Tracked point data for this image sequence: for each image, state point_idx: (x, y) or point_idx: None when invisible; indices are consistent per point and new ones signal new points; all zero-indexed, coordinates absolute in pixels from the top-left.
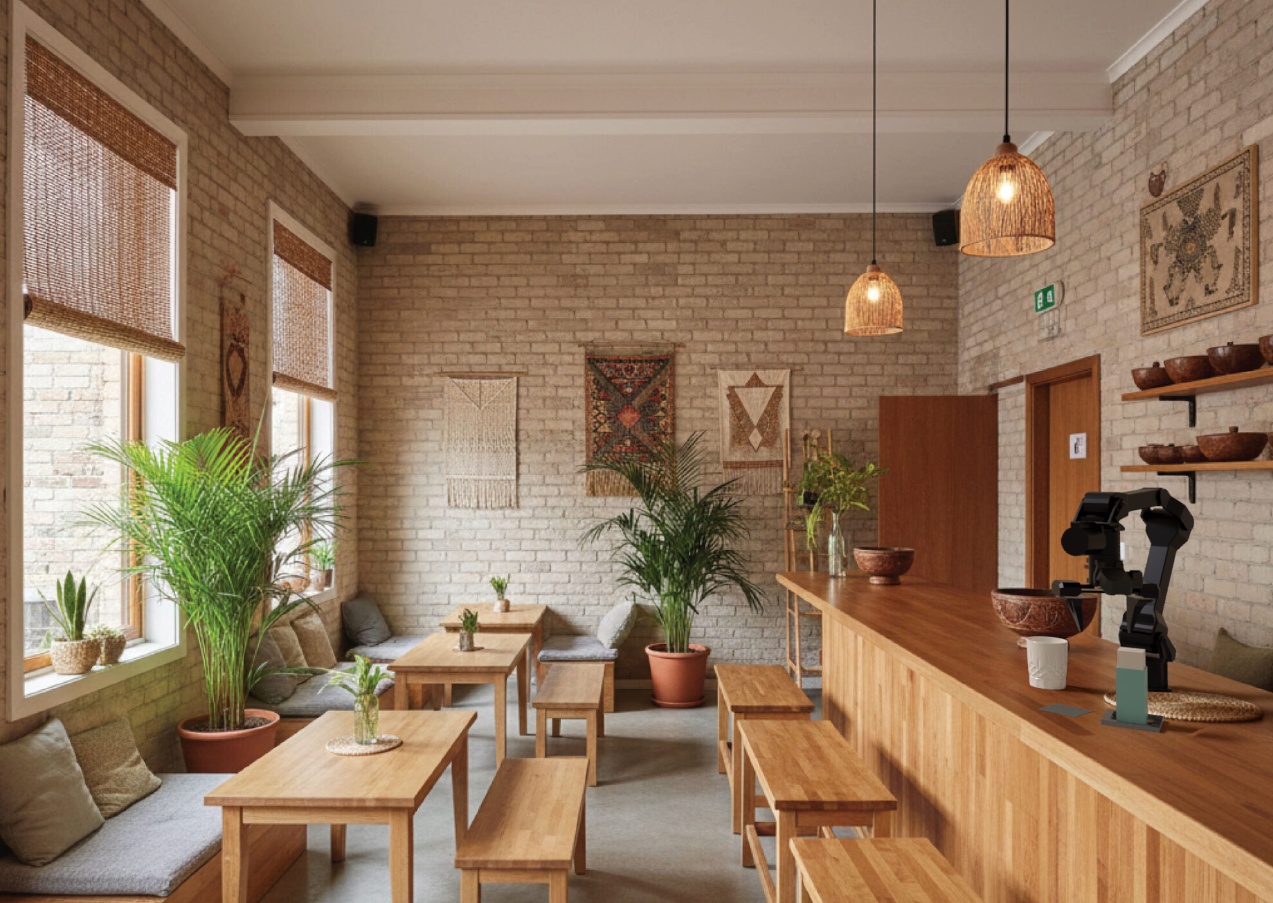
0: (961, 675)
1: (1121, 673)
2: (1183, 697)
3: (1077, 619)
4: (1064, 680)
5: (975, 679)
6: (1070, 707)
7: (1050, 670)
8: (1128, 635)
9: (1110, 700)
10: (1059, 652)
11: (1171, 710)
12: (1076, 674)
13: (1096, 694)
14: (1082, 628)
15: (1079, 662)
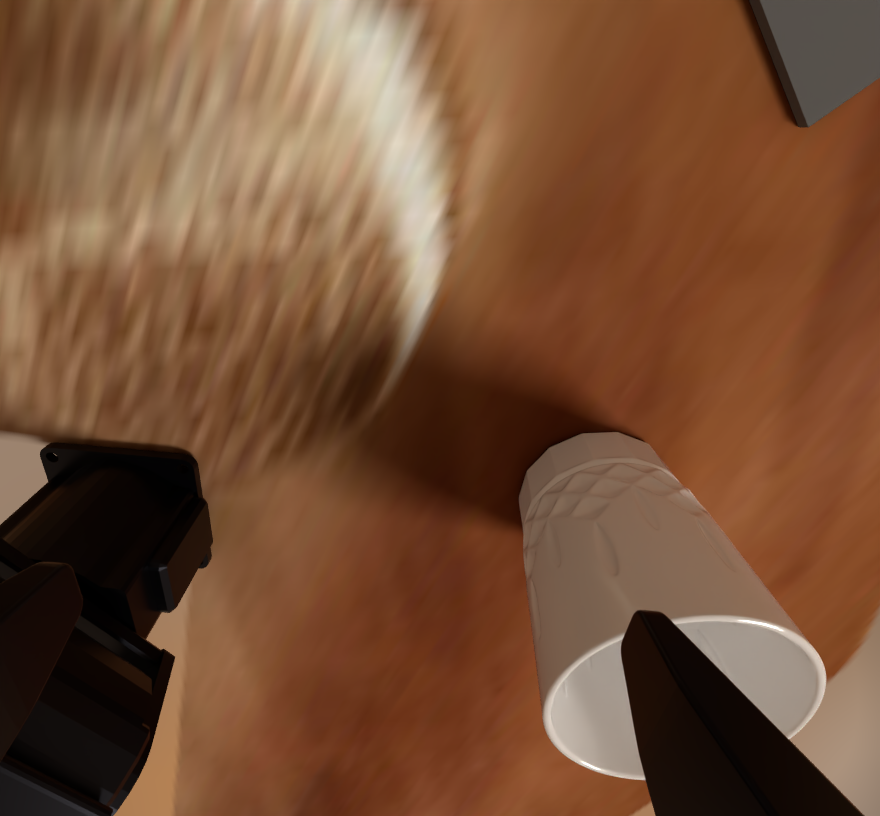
0: (816, 649)
1: None
2: (15, 349)
3: (816, 772)
4: (553, 476)
5: (807, 602)
6: (803, 3)
7: (660, 492)
8: (77, 733)
9: (411, 275)
10: (652, 565)
11: (146, 38)
12: (355, 668)
13: (425, 391)
14: (666, 638)
15: (276, 782)
